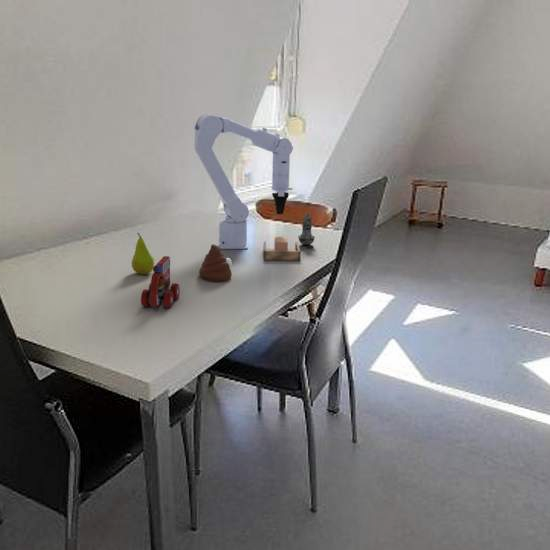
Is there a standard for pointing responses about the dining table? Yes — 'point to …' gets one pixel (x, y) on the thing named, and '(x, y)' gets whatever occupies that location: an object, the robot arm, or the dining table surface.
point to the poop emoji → (216, 266)
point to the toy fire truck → (160, 286)
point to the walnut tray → (282, 254)
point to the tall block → (281, 244)
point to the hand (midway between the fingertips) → (279, 213)
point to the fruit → (142, 258)
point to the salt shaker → (306, 234)
